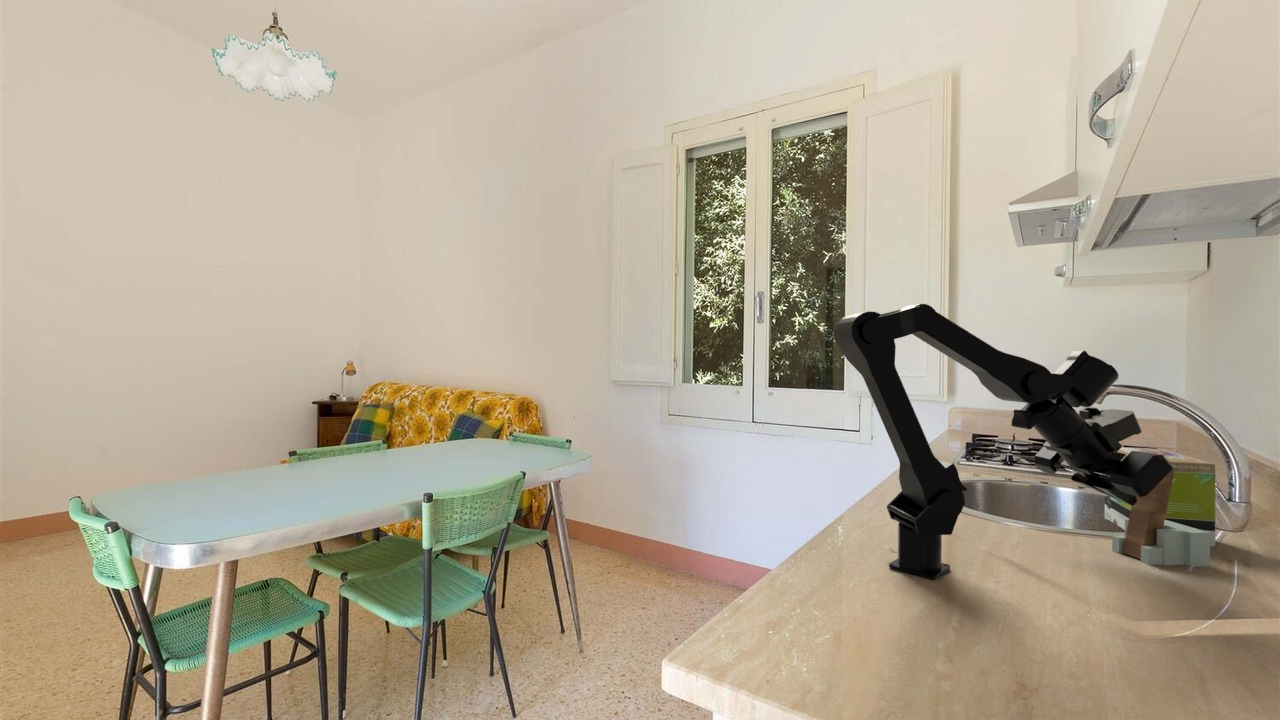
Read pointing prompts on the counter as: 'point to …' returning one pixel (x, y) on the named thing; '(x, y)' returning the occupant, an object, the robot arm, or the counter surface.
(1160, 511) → the brown wooden post
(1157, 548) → the bracket
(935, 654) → the counter surface
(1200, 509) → the tea box
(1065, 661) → the counter surface
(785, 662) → the counter surface
